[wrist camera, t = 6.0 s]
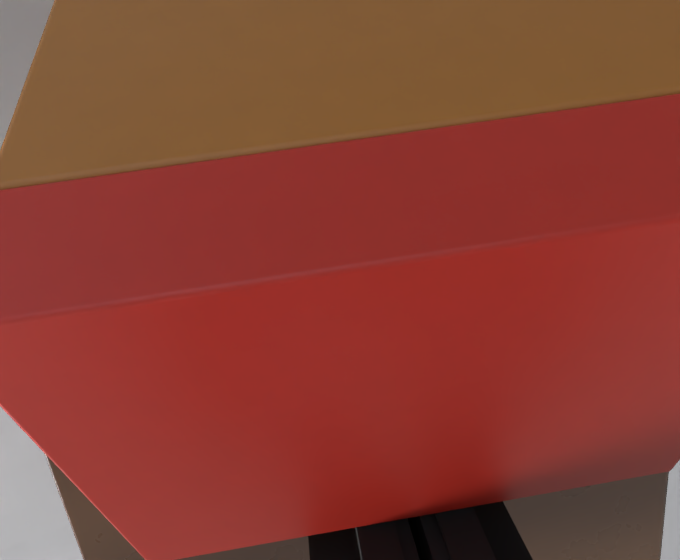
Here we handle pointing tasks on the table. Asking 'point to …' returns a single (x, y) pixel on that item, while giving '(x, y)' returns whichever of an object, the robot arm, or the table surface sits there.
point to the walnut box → (527, 513)
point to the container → (341, 258)
